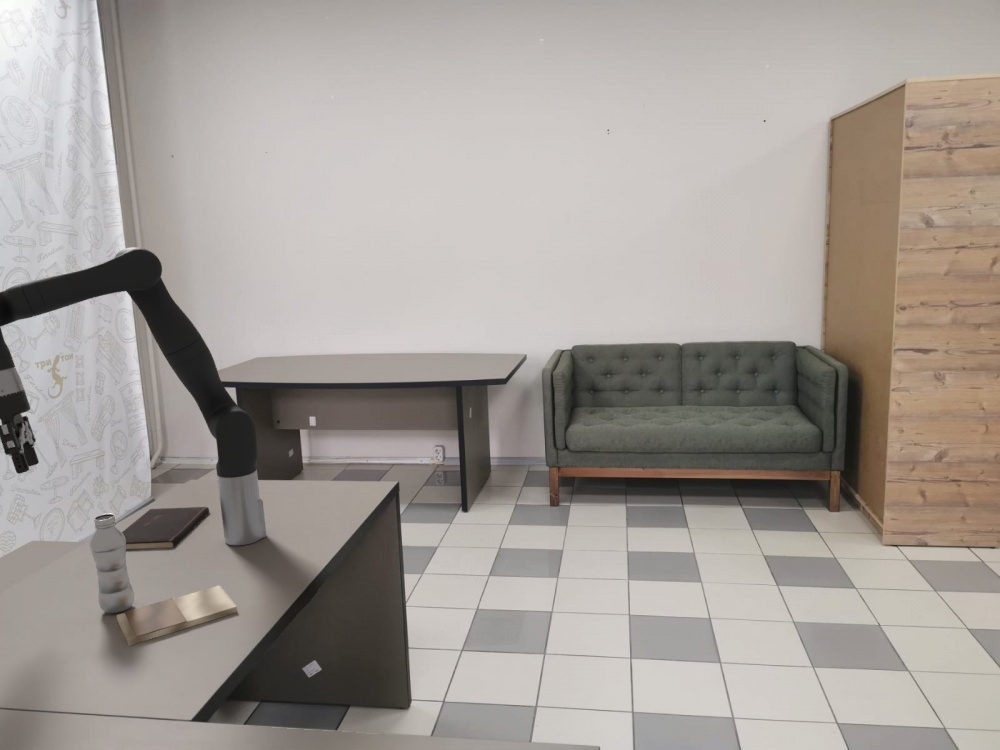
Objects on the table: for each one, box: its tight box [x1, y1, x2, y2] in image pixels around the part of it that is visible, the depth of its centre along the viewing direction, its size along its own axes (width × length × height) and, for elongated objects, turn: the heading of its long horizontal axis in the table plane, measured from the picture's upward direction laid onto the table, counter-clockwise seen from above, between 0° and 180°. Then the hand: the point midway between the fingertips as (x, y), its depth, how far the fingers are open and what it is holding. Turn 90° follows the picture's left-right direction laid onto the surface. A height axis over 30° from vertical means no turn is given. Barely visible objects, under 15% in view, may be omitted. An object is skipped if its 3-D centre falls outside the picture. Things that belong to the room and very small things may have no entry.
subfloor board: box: [116, 585, 238, 647], centre depth 155 cm, size 20×12×1 cm, turn 125°
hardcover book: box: [121, 506, 210, 550], centre depth 201 cm, size 16×23×2 cm
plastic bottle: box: [89, 513, 135, 614], centre depth 157 cm, size 6×7×20 cm
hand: (28, 468), depth 161 cm, fingers open, 8 cm apart
